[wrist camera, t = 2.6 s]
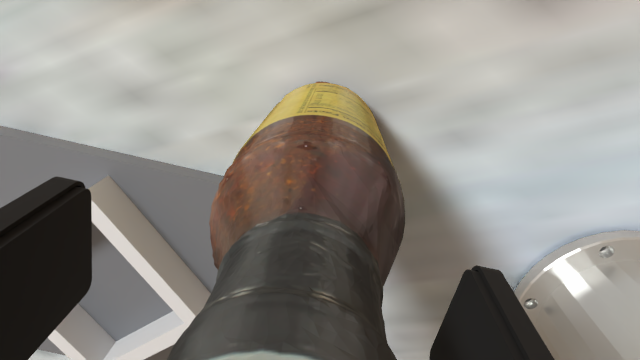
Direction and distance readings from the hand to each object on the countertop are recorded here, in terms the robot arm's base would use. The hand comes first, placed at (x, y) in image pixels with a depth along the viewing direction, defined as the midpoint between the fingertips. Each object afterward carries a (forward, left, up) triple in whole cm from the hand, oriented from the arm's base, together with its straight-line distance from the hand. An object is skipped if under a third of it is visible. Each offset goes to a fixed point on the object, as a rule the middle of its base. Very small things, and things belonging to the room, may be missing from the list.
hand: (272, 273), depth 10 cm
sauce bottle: (-1, 0, -15) cm, 15 cm away
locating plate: (+11, +13, -15) cm, 23 cm away
